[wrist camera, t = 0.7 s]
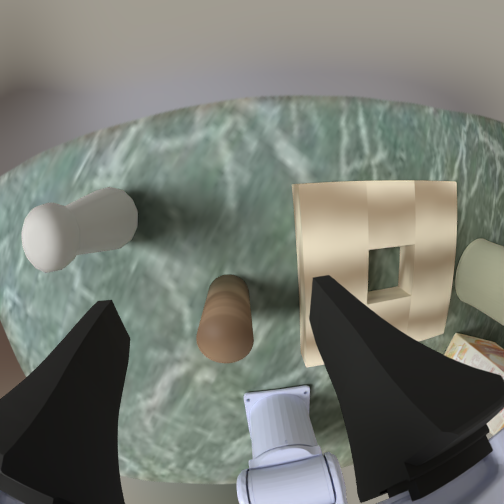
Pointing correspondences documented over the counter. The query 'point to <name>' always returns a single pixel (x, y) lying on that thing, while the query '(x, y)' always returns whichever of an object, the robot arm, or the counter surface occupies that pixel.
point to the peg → (226, 321)
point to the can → (482, 278)
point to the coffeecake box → (479, 363)
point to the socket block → (375, 237)
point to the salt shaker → (78, 228)
